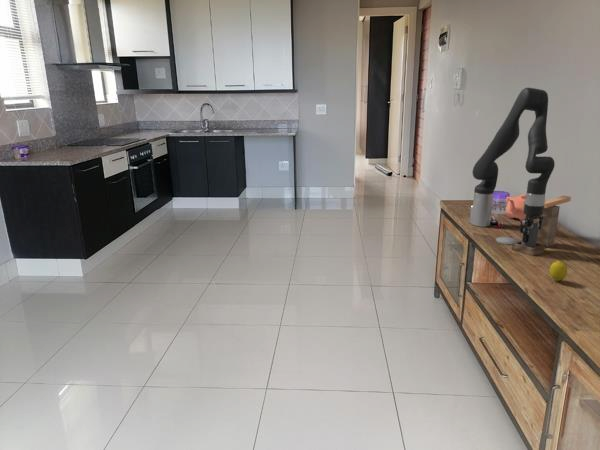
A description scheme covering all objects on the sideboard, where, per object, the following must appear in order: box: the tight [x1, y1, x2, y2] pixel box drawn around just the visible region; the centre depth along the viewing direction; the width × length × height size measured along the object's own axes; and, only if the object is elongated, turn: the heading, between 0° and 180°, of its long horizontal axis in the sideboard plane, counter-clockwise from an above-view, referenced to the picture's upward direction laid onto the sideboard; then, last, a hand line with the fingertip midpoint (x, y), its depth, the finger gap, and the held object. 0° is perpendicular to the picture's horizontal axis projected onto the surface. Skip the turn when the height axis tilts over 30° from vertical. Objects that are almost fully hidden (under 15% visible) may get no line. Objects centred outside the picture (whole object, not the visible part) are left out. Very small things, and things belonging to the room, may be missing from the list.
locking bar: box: [544, 195, 572, 208], centre depth 198 cm, size 3×21×2 cm, turn 124°
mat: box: [495, 236, 520, 246], centre depth 206 cm, size 10×10×1 cm
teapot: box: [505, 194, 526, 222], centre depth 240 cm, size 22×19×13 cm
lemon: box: [549, 260, 568, 282], centre depth 162 cm, size 6×6×8 cm
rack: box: [511, 205, 561, 256], centre depth 195 cm, size 10×21×18 cm, turn 124°
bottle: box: [521, 218, 539, 248], centre depth 192 cm, size 6×6×15 cm
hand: (529, 240), depth 193 cm, fingers closed on bottle, 6 cm apart
